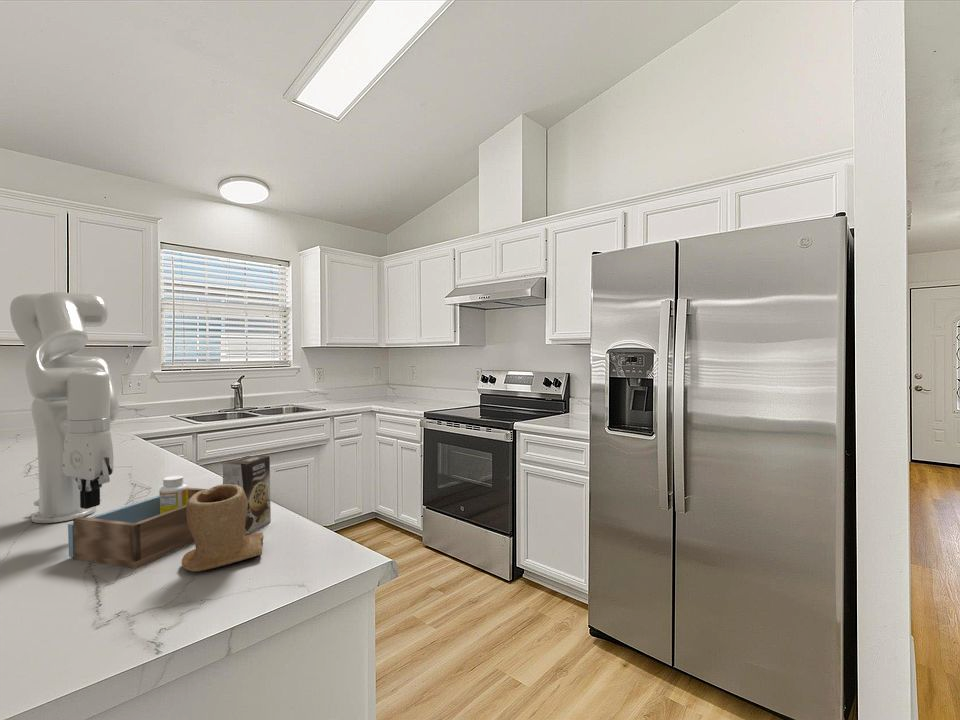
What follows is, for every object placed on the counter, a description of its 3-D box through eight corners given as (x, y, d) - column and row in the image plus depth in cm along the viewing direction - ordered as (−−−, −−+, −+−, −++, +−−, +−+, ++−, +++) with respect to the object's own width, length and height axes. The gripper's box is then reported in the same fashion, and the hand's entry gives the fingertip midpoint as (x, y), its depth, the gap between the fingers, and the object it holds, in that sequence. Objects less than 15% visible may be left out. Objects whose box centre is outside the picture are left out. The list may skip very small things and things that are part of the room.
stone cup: (185, 584, 89) (183, 500, 89) (179, 561, 99) (177, 486, 99) (275, 562, 98) (273, 486, 98) (261, 543, 108) (260, 474, 107)
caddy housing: (74, 559, 101) (73, 518, 100) (177, 519, 124) (176, 486, 123) (135, 568, 96) (134, 525, 96) (230, 525, 119) (229, 491, 119)
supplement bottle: (183, 516, 120) (182, 473, 119) (192, 521, 116) (191, 477, 116) (156, 522, 115) (155, 478, 115) (165, 527, 112) (164, 482, 111)
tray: (68, 556, 101) (67, 524, 101) (172, 517, 124) (172, 491, 124) (129, 565, 97) (128, 531, 96) (225, 523, 120) (224, 496, 119)
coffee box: (247, 535, 113) (246, 463, 112) (222, 533, 114) (220, 462, 113) (272, 521, 121) (270, 455, 121) (248, 520, 123) (247, 454, 122)
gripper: (47, 425, 111) (48, 507, 112) (95, 432, 106) (96, 517, 107) (83, 420, 118) (84, 497, 119) (130, 426, 113) (130, 505, 114)
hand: (90, 506), depth 113 cm, fingers closed
